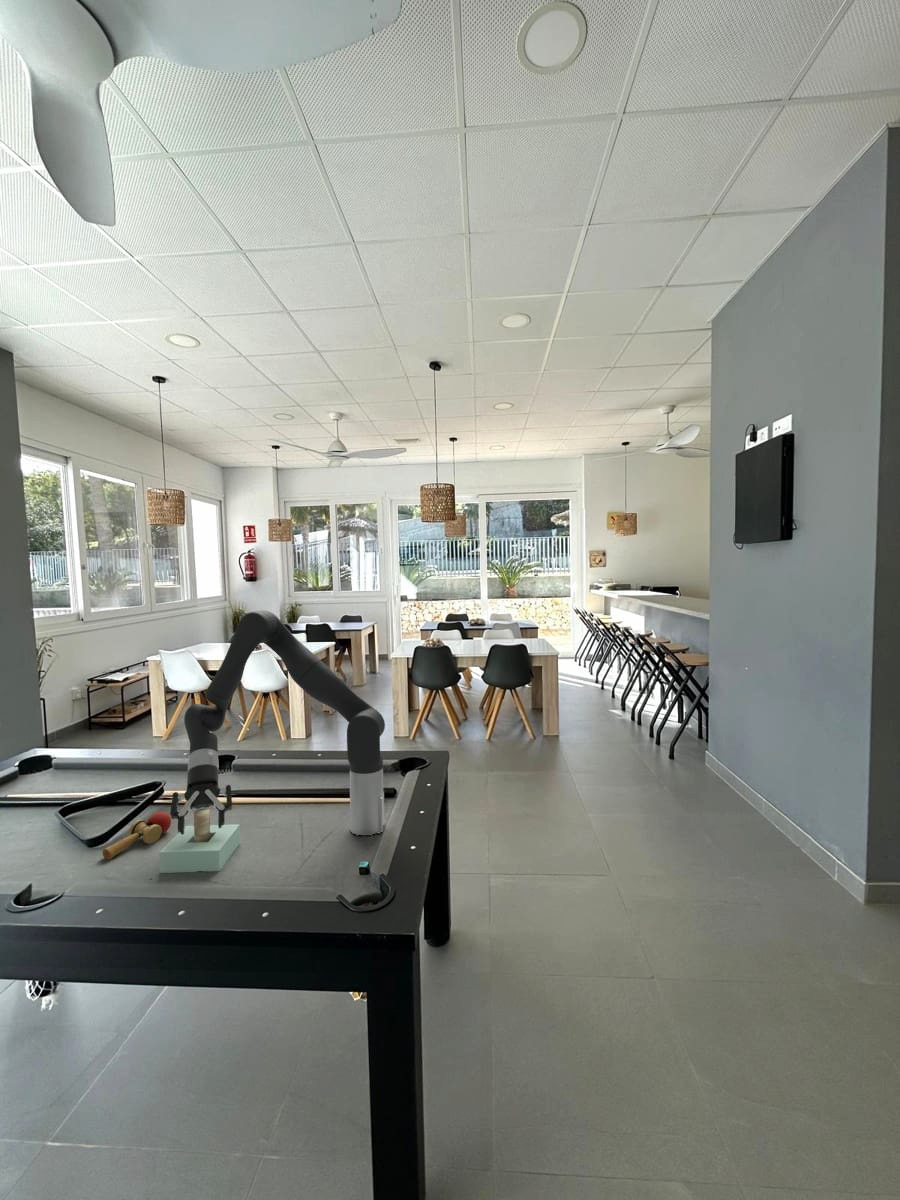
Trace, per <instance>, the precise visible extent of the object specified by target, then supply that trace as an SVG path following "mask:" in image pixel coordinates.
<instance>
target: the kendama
mask: <svg viewBox="0 0 900 1200" xmlns="http://www.w3.org/2000/svg"><path fill="white" fill-rule="evenodd" d="M171 824H172V818H171V815H169V814H168V813H166V812H163V811H159V812H158V811H157V812H155V813H153V814H152V815H151V816H150V817H148V820H147V821H146V820H144V819H137V820H135V821H134V822H133V823H132V824H131V826H130V827H129V830H128V832H129V835H128V836H127V837H125V838H123V839H121V840H119V841H117V842H116V843H115V842H114V843H113V844H111V845H109V846H107V847H105V848H104V849H103V850H102V857H103V858H104V859H105V858H106V859H105V860H107V859H108V861H109V860H111V859H113V858H115V856H116V855H118V854H119V853H121V852H122V851H124V850H125V849H126V848H128V847H130V846H131V845H132V844H134V843H135V842H136V841H137V840H138V839H140V838H141V837H142V840H143V842H144V844H148V845H151V844H153V843H155V842H157V841H158V840H159V839H160V837H161V835H163V834H165V833H166V832H168V831H169V829H170V827H171Z"/></svg>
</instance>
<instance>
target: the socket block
mask: <svg viewBox="0 0 900 1200" xmlns="http://www.w3.org/2000/svg"><path fill="white" fill-rule="evenodd" d="M240 843H241V824H224V825H222V828H219V827H218V824H210V841H209V842H196V843H194V825H185V827H184V834H181V832H178V833H177V834H176V835H175V836H174V837H173V838H172V839H171V840H170V841H169V842H168V843H167V844H166V845H165V846H164V847H163V848H162V849H161V850H160V851H159V852H158V853H159V854H158V856H159V857H158V858H159V859H158V861H159V862H158V863H159V867H158V868H159V874H171V873H172V874H173V873H198V872H197V871H204V872H206V871H207V872H220V871H221V870H222V869H223V867H224V866H225V864H226V863H227V861H228V860H229V859H230V857H231V856H232V855H233V853H234V852H235V851H236V849H237V848H238V847H239V845H240Z"/></svg>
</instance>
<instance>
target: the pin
mask: <svg viewBox="0 0 900 1200" xmlns="http://www.w3.org/2000/svg"><path fill="white" fill-rule="evenodd" d="M210 813H211V810H210V809H209V808H199V809H196V810H195V811H194V812H193V826H194V843H196V842H209V841H210V825H211V820H210V819H211V814H210Z"/></svg>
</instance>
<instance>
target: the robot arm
mask: <svg viewBox="0 0 900 1200" xmlns="http://www.w3.org/2000/svg"><path fill="white" fill-rule="evenodd" d="M262 643H263V644H264V645H265V646H267V647H268V648H270V649H271V650H272V651H274V653H275V654H277V656H278V657H279V658H280V659H281V661H282V662H283V664H284V666H285V668H286V670H287V672H288V674H289V676H290V678H291V679H292V680H293V682H295V684H297V686H299V687H300V688H301V689H302V690H303V691H304V692H305V693H306V694H307V695H308V696H310V697H311V698H313V699H314V700H316V701H318V702H320V703H321V704H324V705H325V706H327V707H329V708H331V709H333V710H334V711H336V712H337V713H339V714H340V716H342V717H343V718H344V719H345V720H346V721H347V722H348V724H347V727H346V753H347V754H346V755H347V760H348V763H349V815H350V816H349V818H350V819H349V827H350V830H351V831H350V833H351V832H352V833H351V834H353V833H354V834H356V835H355V836H358V835H371V834H374V833H378V832H381V831H383V832H384V827H383V825H384V826H385V792H384V791H385V790H384V759H383V757H382V755H381V736H382V735H383V734H384V731H385V728H386V722H385V719H384V717H383V715H382V714H381V713H380V712H379V711H378V710H377V709H375V707H373V706H371V705H370V704H369V703H368V702H366V701H365V700H363V699H362V698H361V697H360V696H359V695H357V693H355V692H353V690H352V689H350V688H349V686H348V685H347V684H346V683H345V682H344V681H343V680H342V679H340V677H339V676H338V675H336V673H334V672H333V671H332V669H331V668H329V667H328V665H326V664H325V663H324V662H323V661H322V660H321V659H320V658H319V657H317V656H316V655H315V654H314V653H313V652H312V651H311V650H310V649H309V648H307V647H306V646H305V645H304V643H302V642H301V641H299V640H298V638H297V637H295V636H294V635H293V634H292V632H291V630H289V629H288V628H287V626H286V625H285V624H284V623H283V622H282V620H280V618H279V617H278V616H277V615H275V614H274V613H273V612H271V611H269V610H256V611H255V610H254V611H250V612H247V613H245V614H244V615H243V616H242V617H241V618H240V620H239V622H238V624H237V626H236V628H235V632H234V635H233V638H232V640H231V642H230V645H229V647H228V650H227V652H226V654H225V657H224V659H223V661H222V662H221V664H220V667H219V669H218V670H217V672H216V673H215V675H214V677H213V679H212V680H211V682H210V684H209V685H208V686H207V689H206V691H205V693H204V696H205V699H206V700H207V701H208V702H209V703H211V704H213V705H214V706H212V705H205V704H201V703H193V704H191V705H190V706H189V707H188V708H187V709H186V711H185V714H184V720H183V721H184V727H185V730H186V733H187V737H188V741H189V758H188V762H187V777H186V780H187V781H186V791H185V792H184V793H179V792H177V791H175V792H173V793H172V798H171V805H170V813H169V814H170V815H169V816H170V818H171V820H174V819H176V820H177V832H178V833H179V832H181V834H184V828H185V827H186V824H185V823H186V819H185V818H186V817H187V815H188V814H190V813H191V811H192V810H193V809H196V810H199V809H203V808H204V809H207V808H209V807H210V806H212V807H213V808H214V809H215V810H217V812H218V822H217V823H218V824H217V825H218V827H219V828H222V825H225V818H226V817H225V813H226V812H228V811H231V810H232V809H233V800H232V799H233V797H232V796H233V795H232V786H231V785H230V784H227V785H226V786H225V787H221V788H220V787H219V768H220V766H219V754H218V751H219V745H218V744H219V743H218V741H219V740H218V736H217V735H216V734H214V732H217V731H218V730H220V729H221V728H222V727H223V725H224V722H225V719H226V713H227V710H228V708H229V704H230V702H231V699H232V698H233V696H234V694H235V692H236V691H237V689H238V687H239V685H240V683H241V681H242V679H243V675H244V672H245V667H246V665H247V662H248V660H249V658H250V656H251V655H252V653H254V651H255V649H256V648H257V647H258V646H259V645H260V644H262ZM221 794H222V796H224V797H226V804H223V803H222V802H221V801H220V800H219V795H221ZM183 799H184V800H185V801H186V803H185V804H184V805H183V807H182V808H181V809H180V811H178V805H179V803H180V804H181V802H182V801H183ZM354 834H353V835H354ZM378 834H379V833H378ZM371 836H372V835H371Z"/></svg>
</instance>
